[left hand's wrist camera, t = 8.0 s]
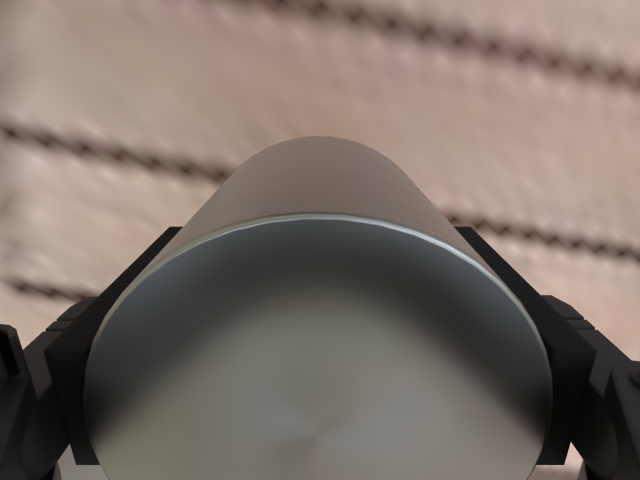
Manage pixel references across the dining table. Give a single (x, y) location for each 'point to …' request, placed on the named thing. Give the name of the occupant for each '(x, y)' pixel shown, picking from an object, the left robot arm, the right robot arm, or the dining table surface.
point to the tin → (318, 338)
